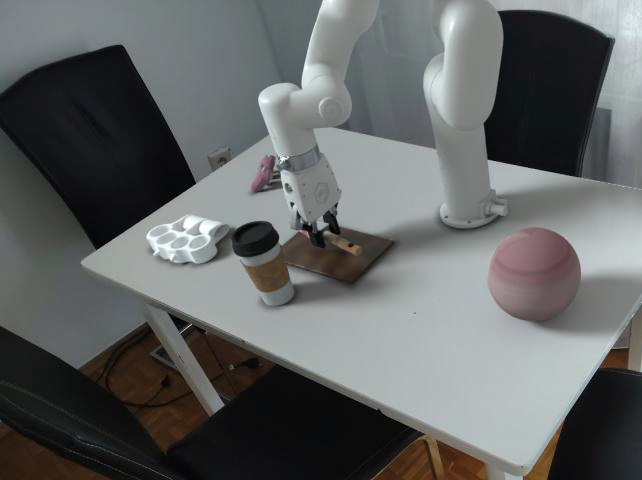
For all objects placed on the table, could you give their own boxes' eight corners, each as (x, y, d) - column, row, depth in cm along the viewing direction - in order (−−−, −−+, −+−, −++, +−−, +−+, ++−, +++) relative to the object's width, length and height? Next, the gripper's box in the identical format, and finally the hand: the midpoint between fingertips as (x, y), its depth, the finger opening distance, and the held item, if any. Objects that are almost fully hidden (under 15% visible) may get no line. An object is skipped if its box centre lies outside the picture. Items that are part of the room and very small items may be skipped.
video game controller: (268, 197, 153) (272, 172, 148) (249, 192, 152) (252, 166, 147) (276, 176, 160) (280, 151, 155) (257, 171, 159) (261, 146, 154)
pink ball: (514, 274, 115) (507, 202, 105) (594, 291, 109) (595, 217, 98) (476, 327, 107) (464, 255, 96) (560, 350, 100) (557, 275, 90)
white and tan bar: (298, 208, 132) (364, 240, 121) (302, 219, 134) (367, 252, 123) (284, 217, 130) (349, 251, 120) (288, 228, 132) (352, 262, 121)
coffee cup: (280, 315, 117) (251, 249, 107) (248, 304, 121) (217, 239, 111) (309, 287, 122) (284, 221, 112) (277, 277, 126) (250, 213, 115)
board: (394, 243, 128) (393, 240, 128) (352, 285, 120) (351, 281, 120) (313, 222, 139) (312, 219, 138) (270, 259, 131) (268, 256, 130)
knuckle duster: (241, 234, 140) (193, 274, 131) (187, 220, 148) (138, 256, 140) (236, 221, 137) (185, 261, 129) (181, 207, 146) (131, 243, 137)
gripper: (283, 183, 108) (314, 268, 121) (343, 137, 118) (366, 221, 130) (252, 176, 112) (285, 259, 125) (313, 132, 121) (338, 214, 134)
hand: (326, 239), depth 127 cm, fingers closed on white and tan bar, 4 cm apart
